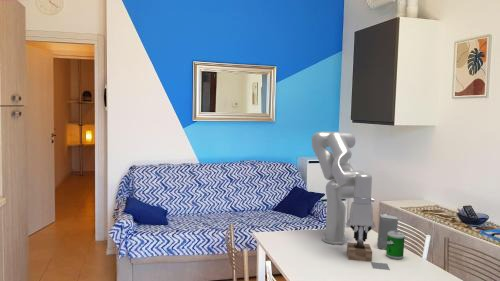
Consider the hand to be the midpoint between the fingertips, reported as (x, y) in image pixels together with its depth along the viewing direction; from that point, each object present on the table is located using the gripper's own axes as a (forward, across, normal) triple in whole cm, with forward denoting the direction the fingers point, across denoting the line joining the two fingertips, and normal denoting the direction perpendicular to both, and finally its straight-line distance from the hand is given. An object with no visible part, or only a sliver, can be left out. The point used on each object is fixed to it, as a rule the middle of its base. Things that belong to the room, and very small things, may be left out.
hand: (360, 239), depth 179 cm
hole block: (+8, 0, 0) cm, 8 cm away
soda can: (+9, -16, -5) cm, 19 cm away
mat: (+8, -8, +9) cm, 14 cm away
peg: (+3, 0, 0) cm, 3 cm away
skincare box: (+8, -15, -18) cm, 25 cm away
